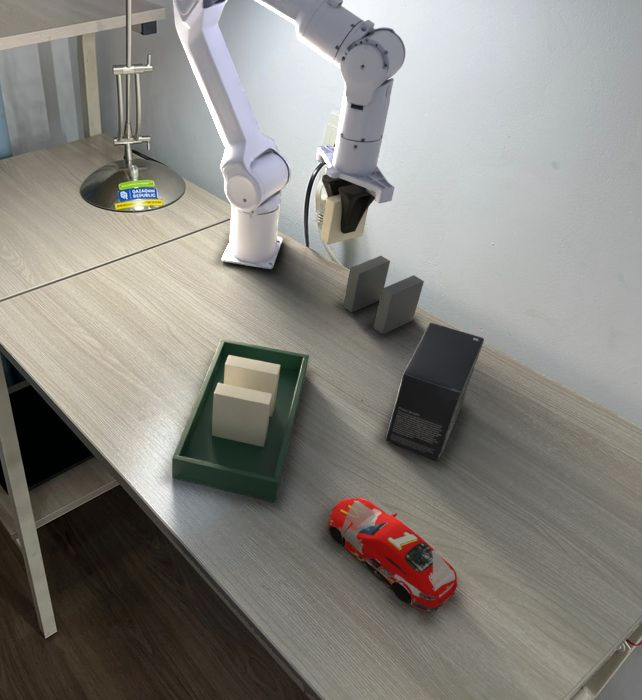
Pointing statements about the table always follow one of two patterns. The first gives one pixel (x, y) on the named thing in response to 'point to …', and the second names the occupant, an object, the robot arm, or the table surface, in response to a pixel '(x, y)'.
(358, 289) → the grey twin slabs
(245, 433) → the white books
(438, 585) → the race car
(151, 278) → the table surface
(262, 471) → the shallow dark green tray
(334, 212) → the cream square block
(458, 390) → the small box
